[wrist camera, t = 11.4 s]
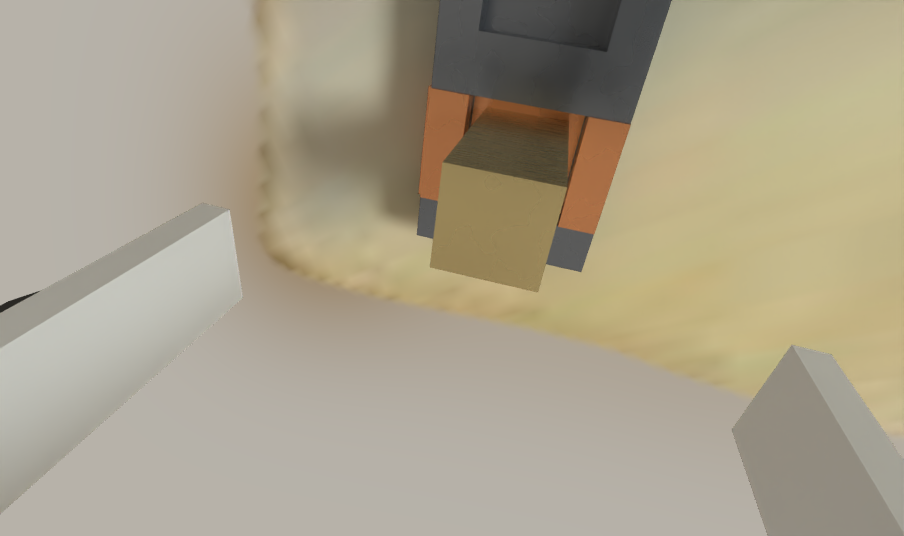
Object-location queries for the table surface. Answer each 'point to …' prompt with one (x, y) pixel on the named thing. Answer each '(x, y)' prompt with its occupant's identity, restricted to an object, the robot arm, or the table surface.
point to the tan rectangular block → (502, 198)
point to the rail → (542, 91)
